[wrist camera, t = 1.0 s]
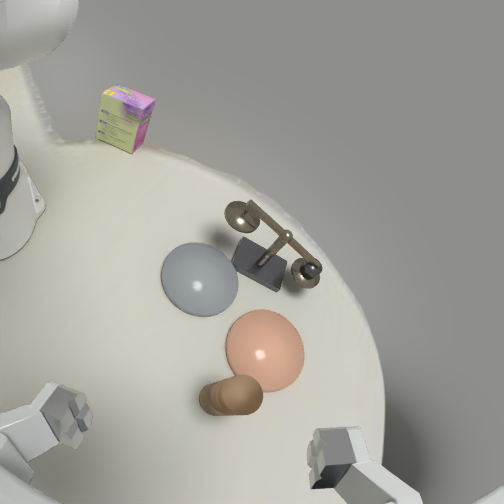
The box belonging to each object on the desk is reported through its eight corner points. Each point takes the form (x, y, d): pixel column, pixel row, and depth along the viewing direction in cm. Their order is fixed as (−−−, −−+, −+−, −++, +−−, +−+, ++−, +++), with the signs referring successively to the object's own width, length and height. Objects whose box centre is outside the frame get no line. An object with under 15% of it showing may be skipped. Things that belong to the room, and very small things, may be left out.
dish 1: (146, 263, 44) (147, 260, 43) (207, 236, 53) (209, 232, 52) (191, 331, 42) (193, 329, 41) (249, 293, 50) (252, 290, 49)
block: (192, 396, 37) (214, 390, 29) (217, 377, 40) (245, 366, 32) (213, 422, 36) (241, 423, 28) (238, 402, 39) (270, 397, 31)
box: (144, 141, 58) (156, 98, 49) (131, 154, 55) (142, 109, 46) (108, 126, 56) (116, 83, 47) (94, 138, 52) (100, 93, 43)
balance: (201, 251, 50) (227, 206, 41) (215, 225, 55) (242, 180, 45) (301, 305, 54) (344, 275, 45) (307, 277, 58) (346, 245, 49)
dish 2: (208, 339, 42) (210, 337, 41) (267, 298, 51) (270, 295, 50) (262, 408, 40) (266, 408, 39) (313, 358, 49) (317, 356, 48)
